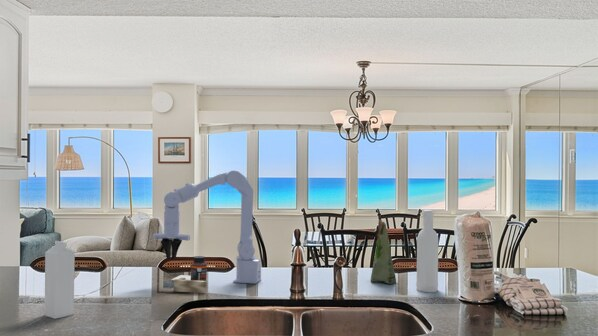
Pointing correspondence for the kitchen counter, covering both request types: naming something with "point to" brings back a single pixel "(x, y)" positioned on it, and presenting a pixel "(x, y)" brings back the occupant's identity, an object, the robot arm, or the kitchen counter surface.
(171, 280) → the mat
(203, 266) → the supplement bottle
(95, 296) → the kitchen counter surface
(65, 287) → the milk
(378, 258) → the pouch
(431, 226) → the bottle
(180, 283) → the corner holder
